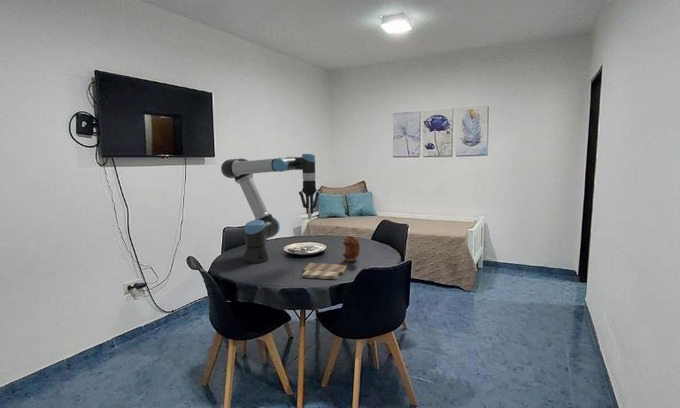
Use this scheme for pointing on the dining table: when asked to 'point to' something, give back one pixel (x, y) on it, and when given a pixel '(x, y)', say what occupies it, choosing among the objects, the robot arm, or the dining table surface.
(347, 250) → the mug
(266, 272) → the dining table surface
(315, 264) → the floorboard
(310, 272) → the plank
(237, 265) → the dining table surface
